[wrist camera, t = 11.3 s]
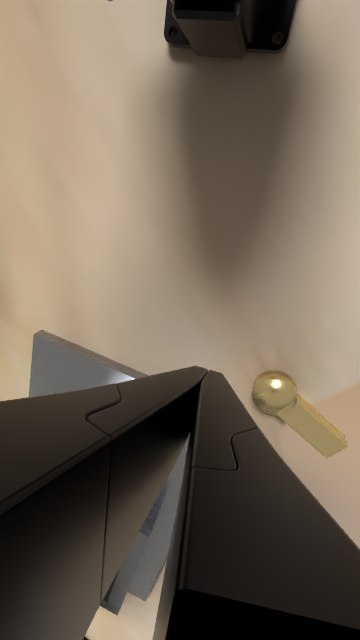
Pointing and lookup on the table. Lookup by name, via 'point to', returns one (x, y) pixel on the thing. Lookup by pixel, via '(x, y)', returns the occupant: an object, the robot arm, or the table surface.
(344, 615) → the robot arm
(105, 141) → the table surface
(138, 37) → the table surface
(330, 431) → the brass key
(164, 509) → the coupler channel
